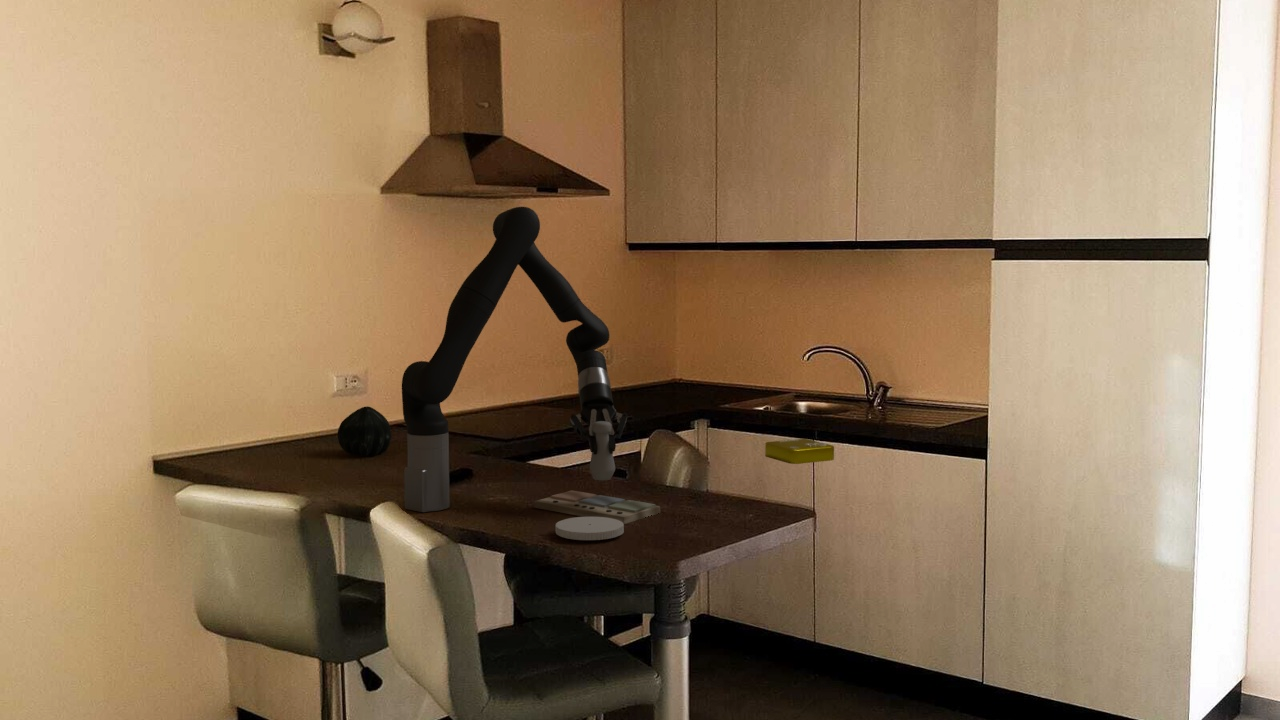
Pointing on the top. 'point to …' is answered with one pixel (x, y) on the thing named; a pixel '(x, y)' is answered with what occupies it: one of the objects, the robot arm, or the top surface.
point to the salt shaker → (602, 453)
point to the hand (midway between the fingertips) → (603, 451)
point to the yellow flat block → (799, 451)
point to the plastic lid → (589, 528)
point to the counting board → (597, 506)
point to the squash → (365, 432)
